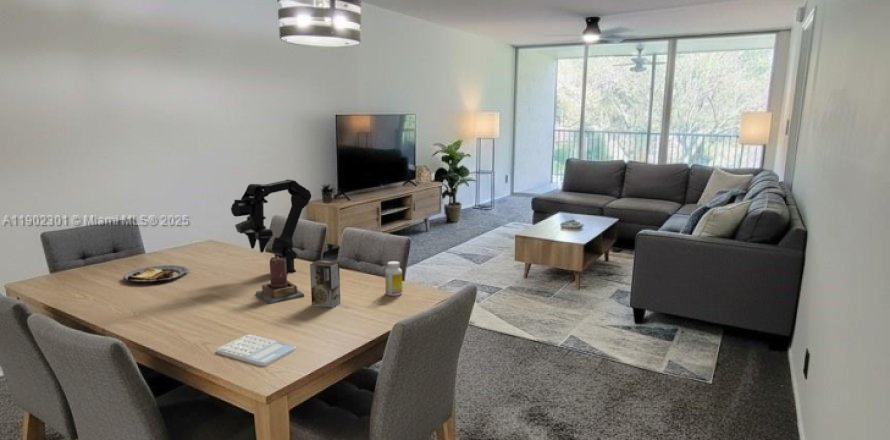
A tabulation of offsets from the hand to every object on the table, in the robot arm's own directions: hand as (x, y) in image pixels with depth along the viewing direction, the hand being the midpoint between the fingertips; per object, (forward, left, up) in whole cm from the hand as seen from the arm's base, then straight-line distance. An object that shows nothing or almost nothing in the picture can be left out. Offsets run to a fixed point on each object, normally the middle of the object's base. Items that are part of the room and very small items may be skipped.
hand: (257, 250), depth 229 cm
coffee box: (-9, +45, -13) cm, 48 cm away
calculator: (+26, +70, -14) cm, 76 cm away
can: (+1, +25, -12) cm, 28 cm away
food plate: (+34, -30, -13) cm, 47 cm away
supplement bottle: (-36, +50, -13) cm, 63 cm away
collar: (+1, +25, -13) cm, 28 cm away
